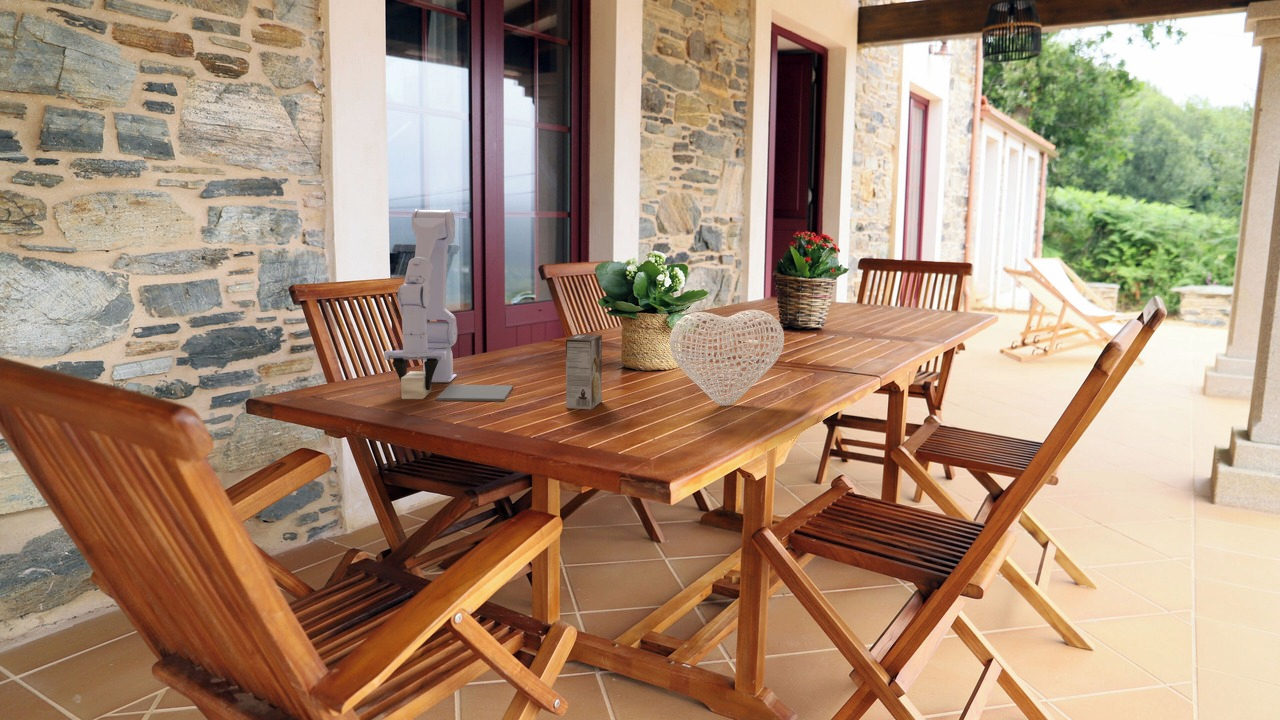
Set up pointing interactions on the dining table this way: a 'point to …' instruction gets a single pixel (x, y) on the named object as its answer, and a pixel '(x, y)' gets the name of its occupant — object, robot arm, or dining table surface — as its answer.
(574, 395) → the coffee box
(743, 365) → the heart
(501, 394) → the rubber mat
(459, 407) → the dining table surface
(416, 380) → the pale wooden block
